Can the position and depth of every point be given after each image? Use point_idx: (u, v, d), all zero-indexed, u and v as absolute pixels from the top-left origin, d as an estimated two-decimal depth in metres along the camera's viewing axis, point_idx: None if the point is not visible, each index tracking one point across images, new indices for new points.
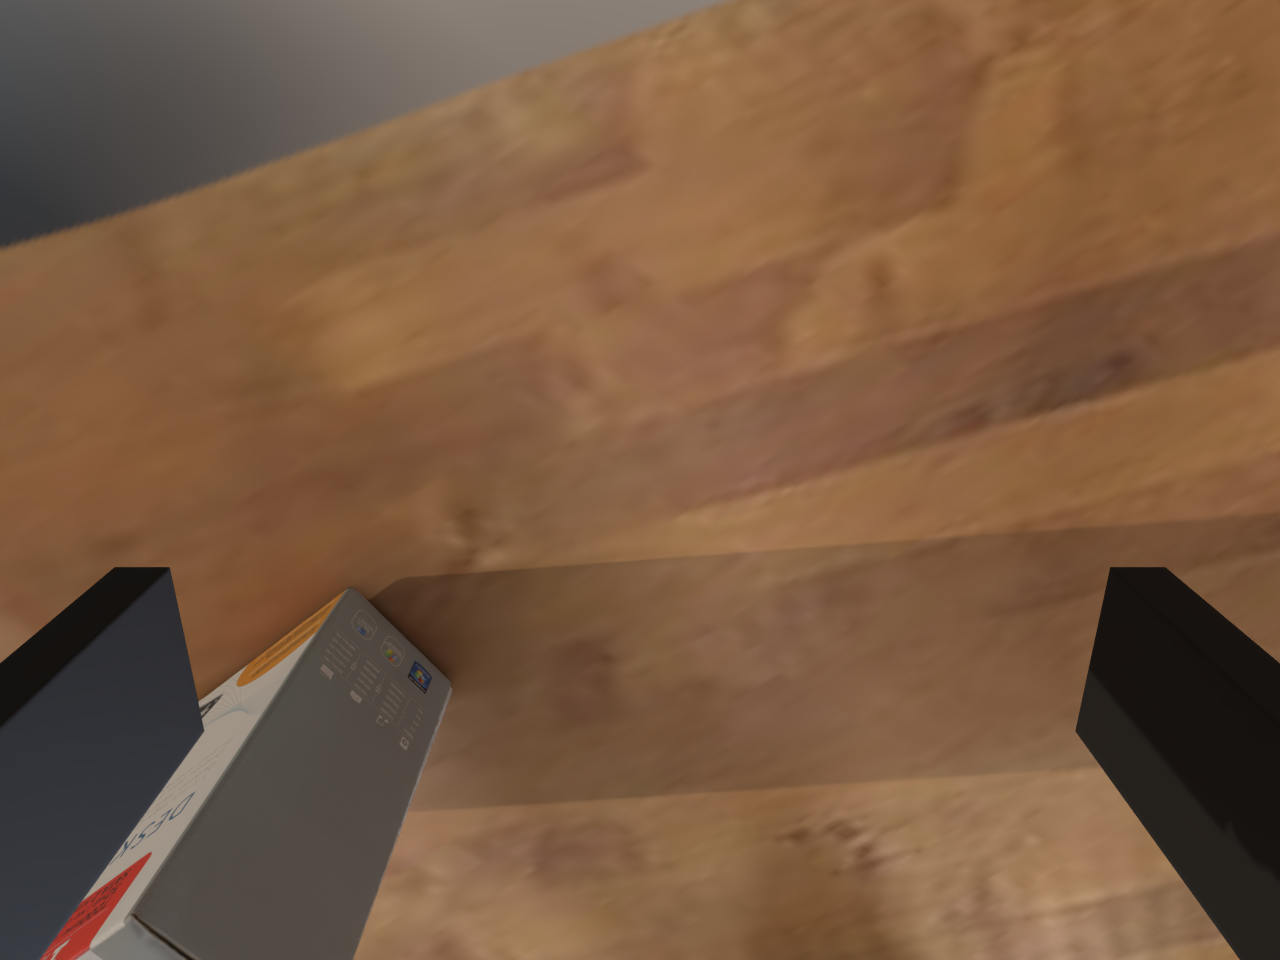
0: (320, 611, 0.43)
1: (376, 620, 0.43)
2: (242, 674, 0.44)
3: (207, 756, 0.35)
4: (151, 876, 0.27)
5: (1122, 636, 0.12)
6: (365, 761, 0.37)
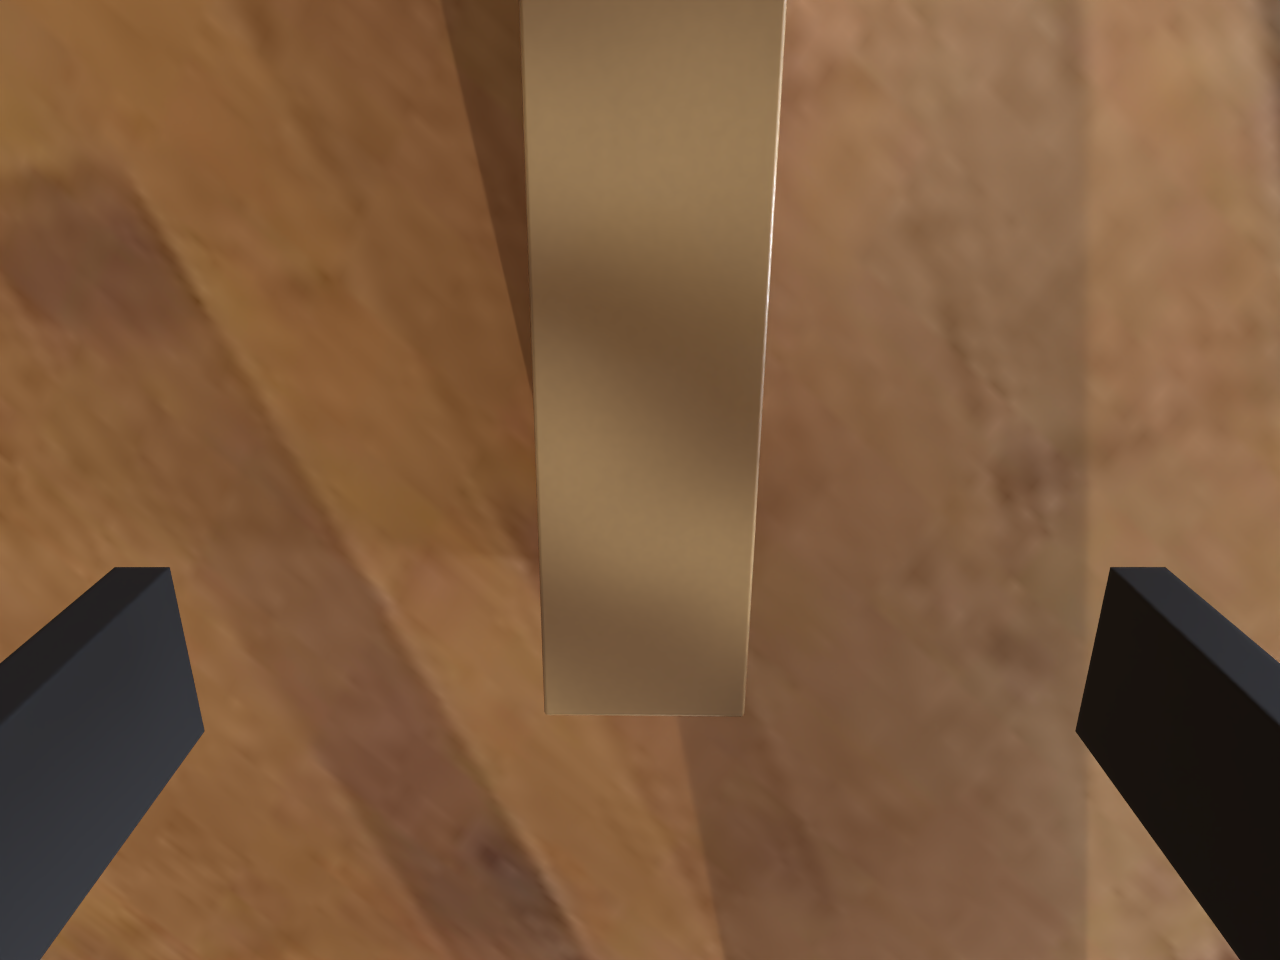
0: None
1: None
2: None
3: None
4: None
5: (1122, 636, 0.12)
6: None
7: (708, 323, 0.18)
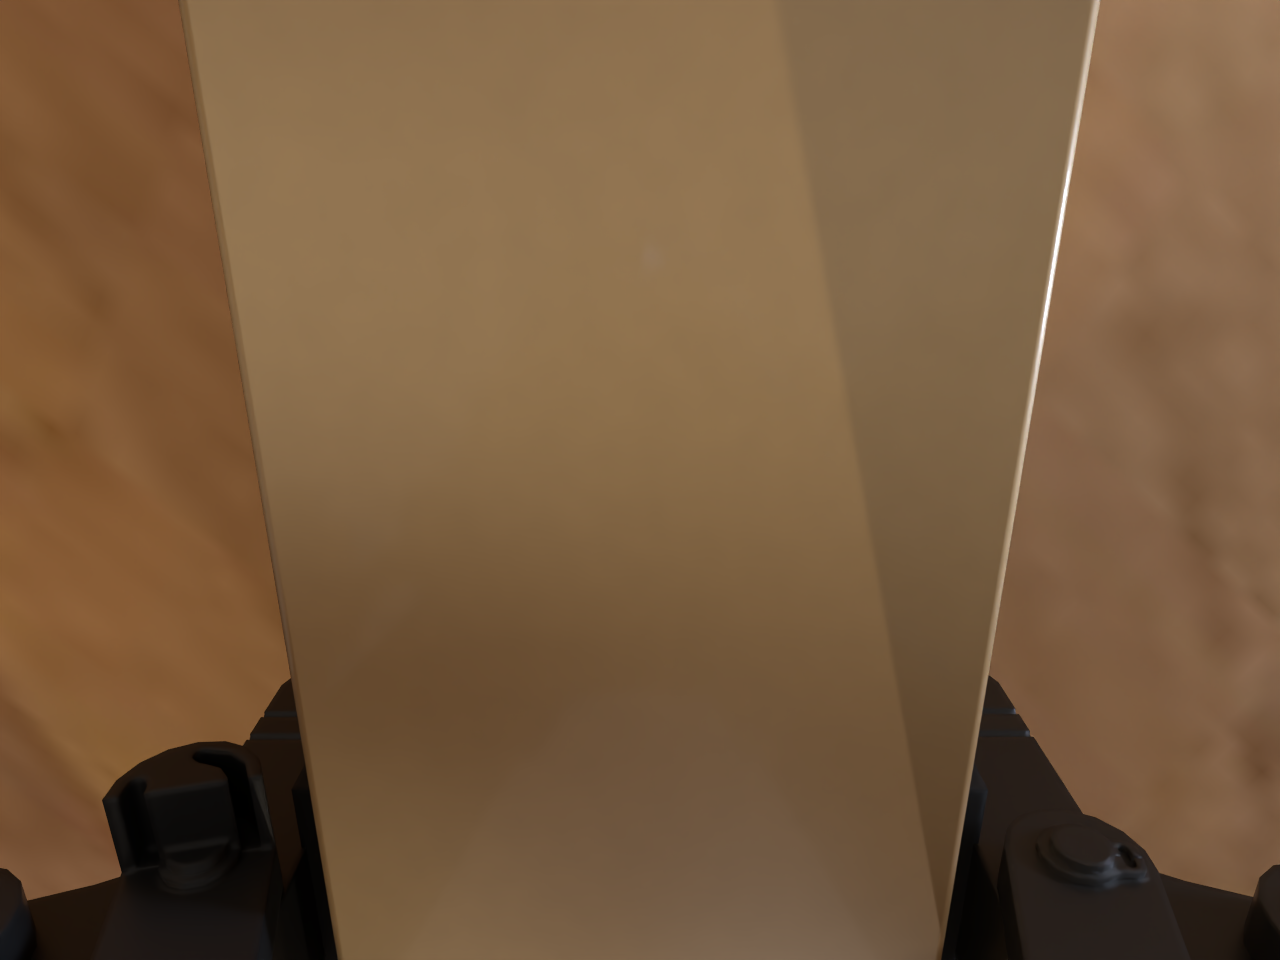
0: None
1: None
2: None
3: None
4: None
5: None
6: None
7: (812, 740, 0.06)
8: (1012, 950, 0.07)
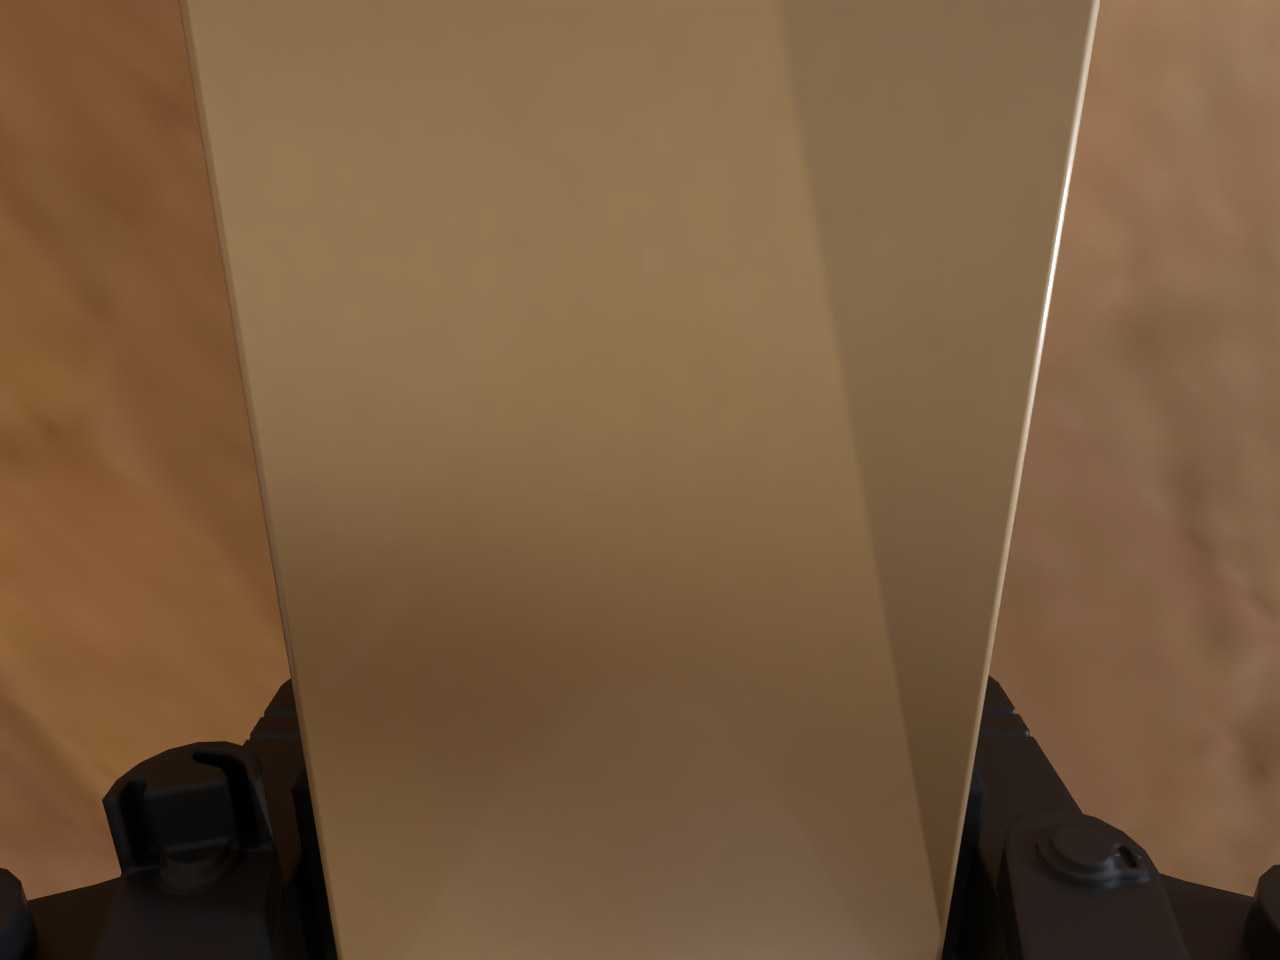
0: None
1: None
2: None
3: None
4: None
5: None
6: None
7: (812, 740, 0.06)
8: (1012, 950, 0.07)
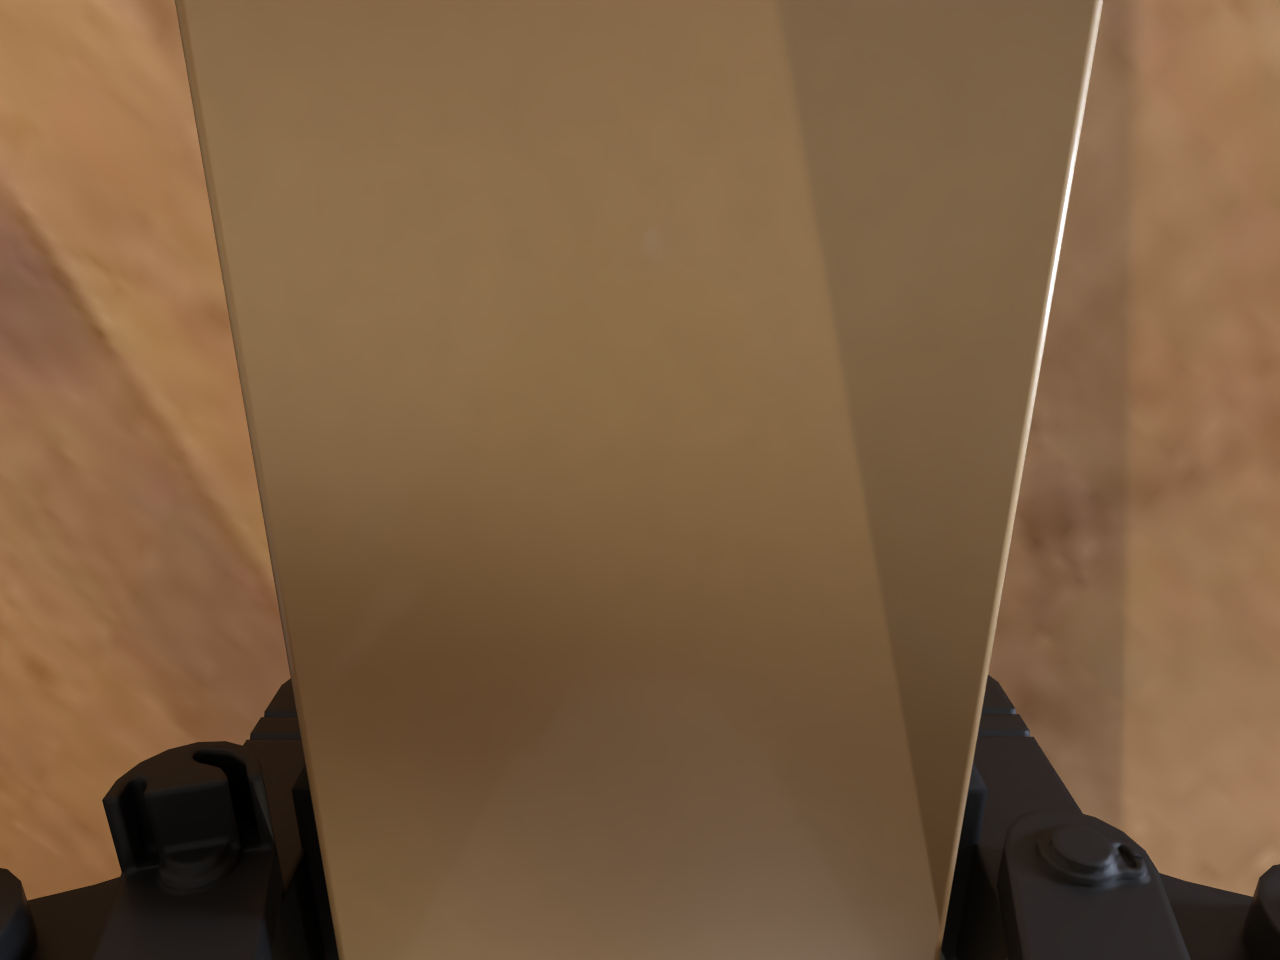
0: None
1: None
2: None
3: None
4: None
5: None
6: None
7: (810, 742, 0.06)
8: (1012, 950, 0.07)
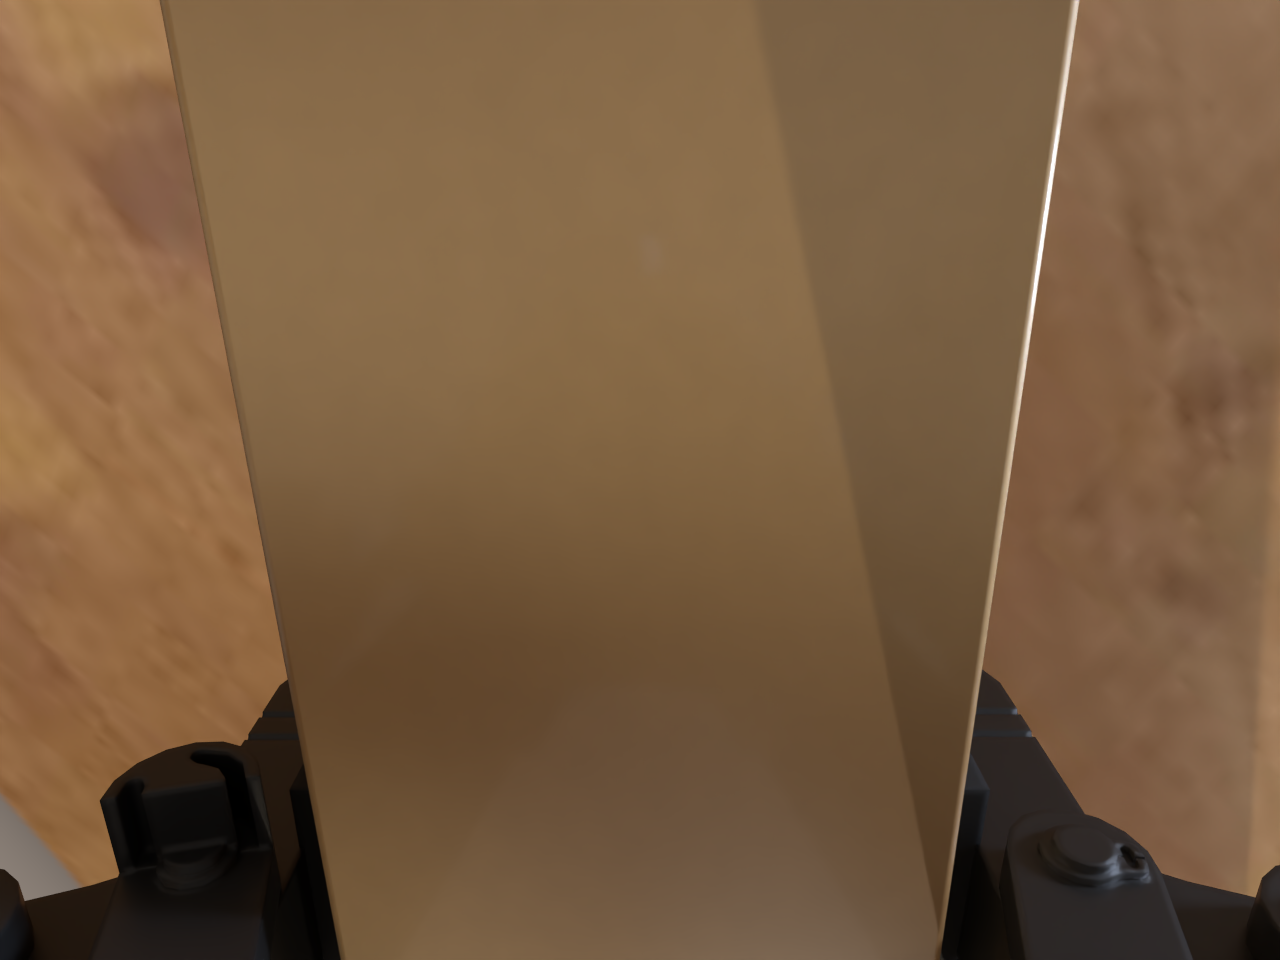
0: None
1: None
2: None
3: None
4: None
5: None
6: None
7: (807, 732, 0.06)
8: (1014, 950, 0.07)
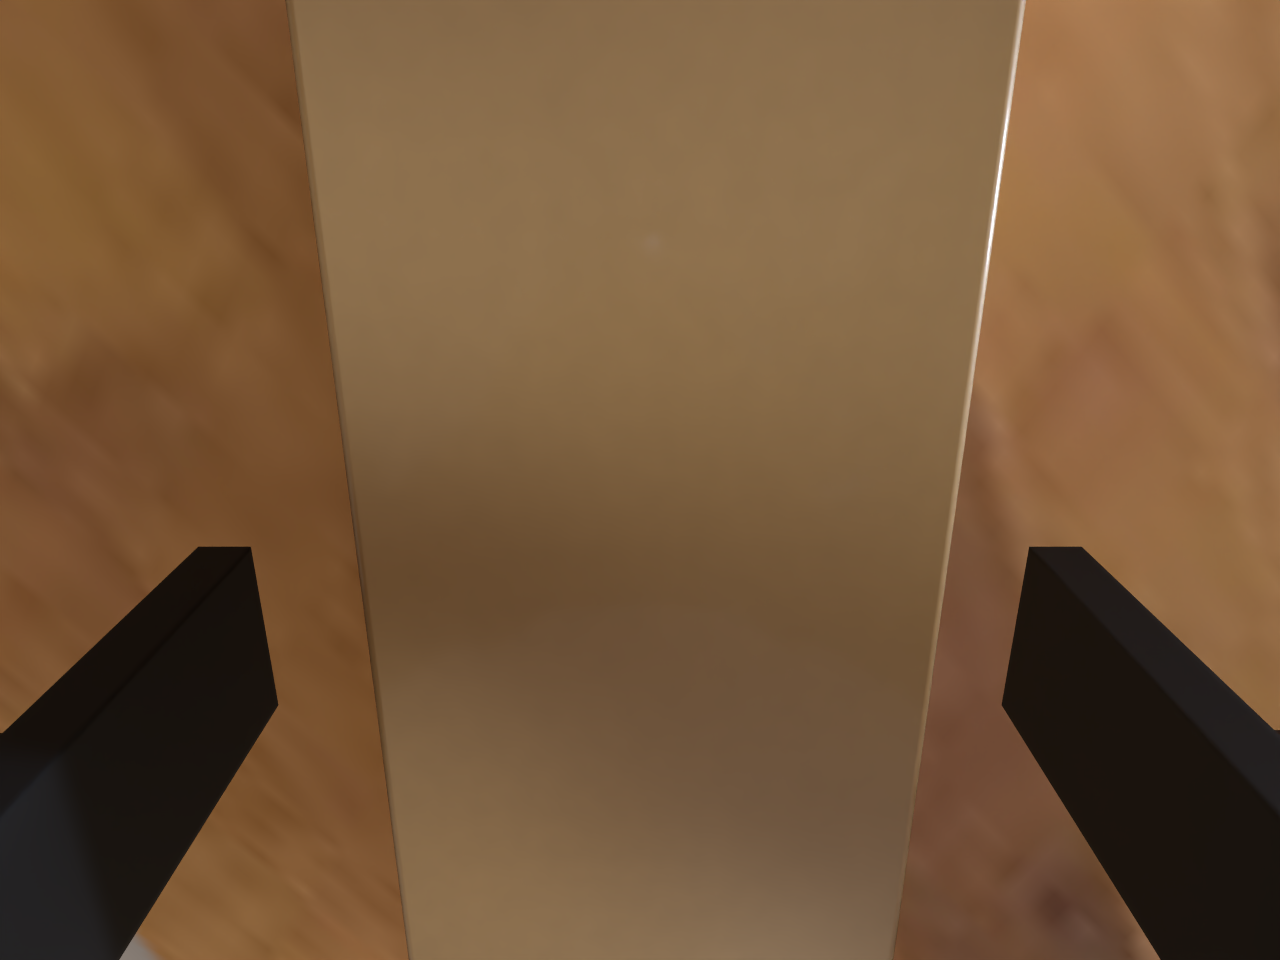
0: None
1: None
2: None
3: None
4: None
5: (1038, 612, 0.13)
6: None
7: (797, 638, 0.08)
8: None
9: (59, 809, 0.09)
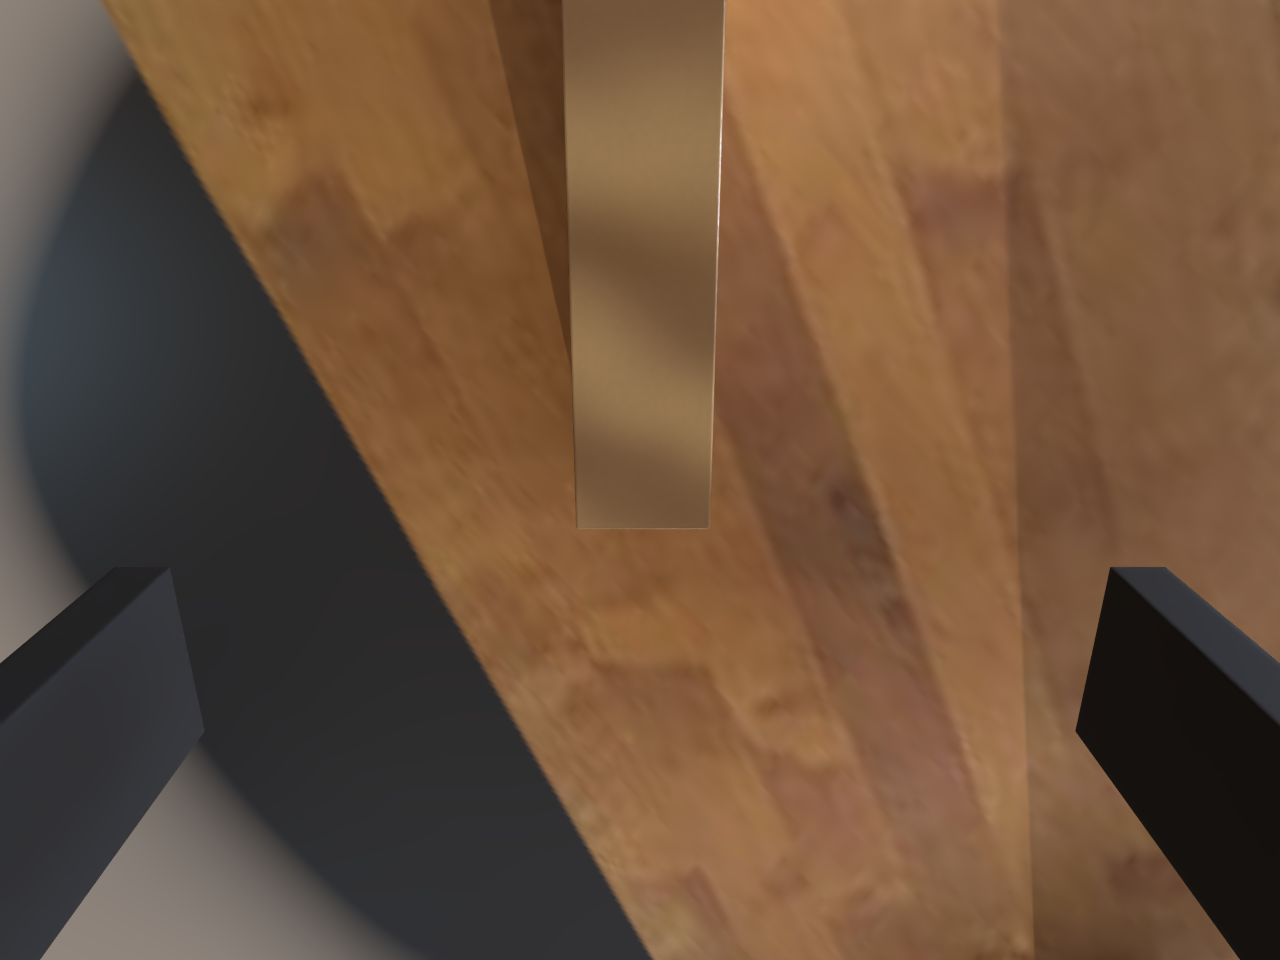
0: None
1: None
2: None
3: None
4: None
5: (1122, 636, 0.12)
6: None
7: (680, 259, 0.29)
8: None
9: None
